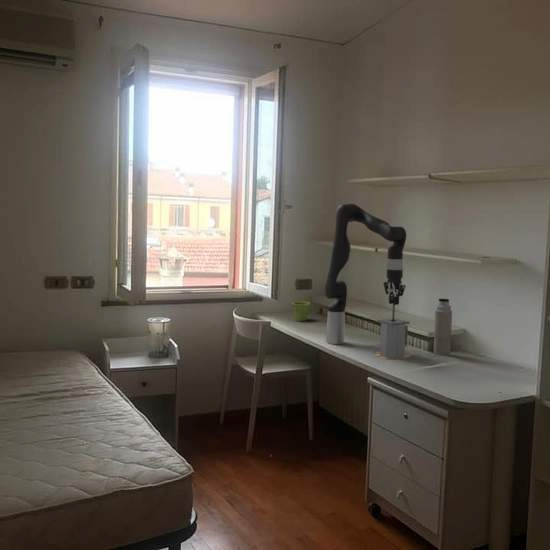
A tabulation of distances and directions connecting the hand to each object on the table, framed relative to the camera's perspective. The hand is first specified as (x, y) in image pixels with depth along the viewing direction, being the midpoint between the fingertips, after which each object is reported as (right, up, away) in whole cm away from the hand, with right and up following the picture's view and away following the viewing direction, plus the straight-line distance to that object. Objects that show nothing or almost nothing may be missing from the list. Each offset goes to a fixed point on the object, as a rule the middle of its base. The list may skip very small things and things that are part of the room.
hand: (393, 303), depth 297 cm
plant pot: (-41, -15, +100) cm, 109 cm away
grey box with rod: (+1, -25, +4) cm, 25 cm away
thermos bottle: (+25, -26, +8) cm, 37 cm away
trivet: (0, -26, +3) cm, 26 cm away
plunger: (0, -15, +2) cm, 15 cm away
